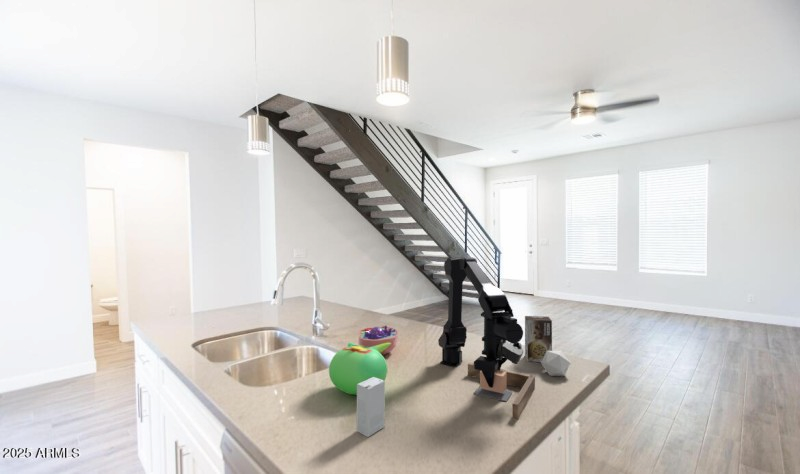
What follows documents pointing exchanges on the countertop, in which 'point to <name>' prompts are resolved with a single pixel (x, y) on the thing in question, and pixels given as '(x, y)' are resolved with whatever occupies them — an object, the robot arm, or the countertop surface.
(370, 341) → the cell model
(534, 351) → the coffee box
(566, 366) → the die
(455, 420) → the countertop surface
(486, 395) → the mat
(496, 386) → the block
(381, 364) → the toy bird
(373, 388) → the skincare box
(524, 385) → the wooden corner wall
